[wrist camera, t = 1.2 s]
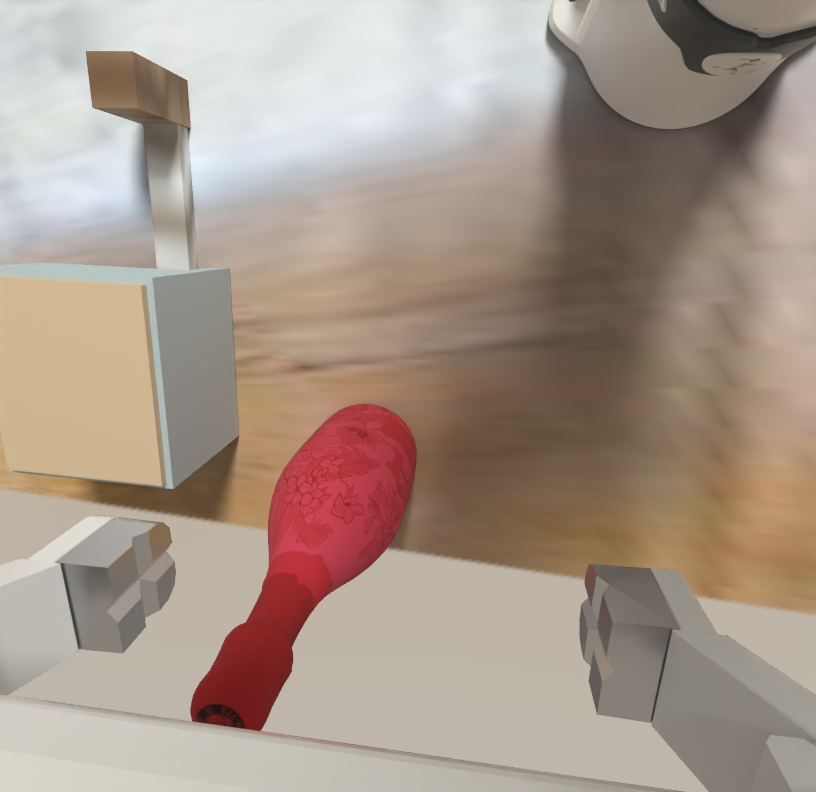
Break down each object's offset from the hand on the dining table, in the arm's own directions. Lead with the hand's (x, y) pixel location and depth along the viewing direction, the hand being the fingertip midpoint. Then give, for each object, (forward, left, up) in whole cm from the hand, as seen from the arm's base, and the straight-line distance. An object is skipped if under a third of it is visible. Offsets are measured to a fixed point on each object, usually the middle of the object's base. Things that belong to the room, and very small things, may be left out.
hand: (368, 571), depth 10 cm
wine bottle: (+13, -7, -37) cm, 40 cm away
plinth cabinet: (+5, -27, -37) cm, 46 cm away
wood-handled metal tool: (-9, -25, -37) cm, 45 cm away
